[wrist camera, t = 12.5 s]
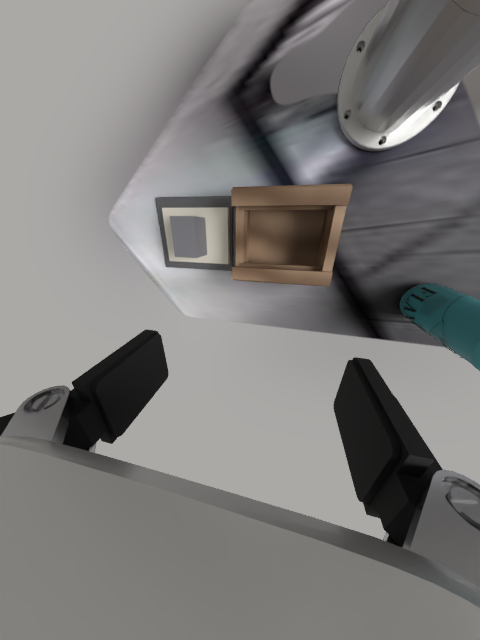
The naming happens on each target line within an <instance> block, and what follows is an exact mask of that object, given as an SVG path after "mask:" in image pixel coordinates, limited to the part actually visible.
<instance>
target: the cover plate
mask: <svg viewBox="0 0 480 640" xmlns="http://www.w3.org/2000/svg"><path fill="white" fill-rule="evenodd" d="M162 213H163V220H164V227H165V234H166V241H167V248H168V254H169V261H178V262H196V263H215V264H230V233H229V208H228V207H212V208H162Z"/></svg>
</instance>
